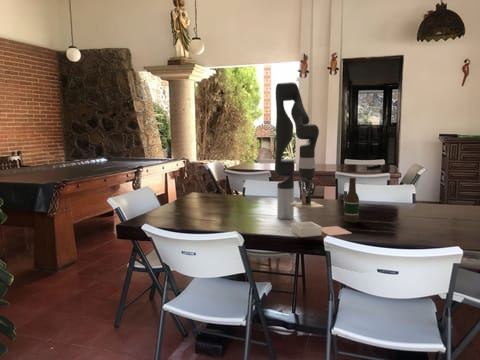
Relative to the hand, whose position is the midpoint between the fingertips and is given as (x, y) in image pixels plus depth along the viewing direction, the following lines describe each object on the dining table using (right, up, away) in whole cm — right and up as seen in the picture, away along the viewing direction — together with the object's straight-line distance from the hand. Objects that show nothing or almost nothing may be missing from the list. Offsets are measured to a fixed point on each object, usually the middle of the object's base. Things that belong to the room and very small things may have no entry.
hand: (306, 202), depth 183 cm
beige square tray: (0, -15, +2) cm, 15 cm away
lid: (0, -2, 0) cm, 2 cm away
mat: (+15, -14, +6) cm, 22 cm away
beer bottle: (+29, -12, +25) cm, 40 cm away
